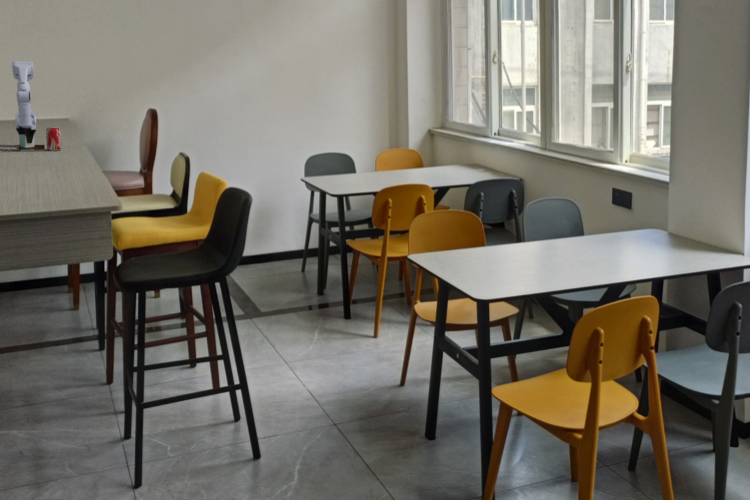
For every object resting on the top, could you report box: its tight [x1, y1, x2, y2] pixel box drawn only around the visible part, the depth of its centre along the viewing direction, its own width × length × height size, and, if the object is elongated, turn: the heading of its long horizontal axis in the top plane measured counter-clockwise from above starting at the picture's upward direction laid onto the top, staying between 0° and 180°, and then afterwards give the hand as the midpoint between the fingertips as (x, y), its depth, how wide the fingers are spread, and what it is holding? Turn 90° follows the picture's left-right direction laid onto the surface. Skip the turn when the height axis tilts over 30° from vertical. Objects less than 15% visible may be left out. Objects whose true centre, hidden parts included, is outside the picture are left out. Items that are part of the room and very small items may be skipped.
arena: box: [15, 144, 46, 152], centre depth 389 cm, size 8×13×2 cm, turn 113°
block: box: [18, 134, 35, 148], centre depth 387 cm, size 5×5×6 cm
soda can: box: [45, 125, 63, 152], centre depth 392 cm, size 7×7×12 cm
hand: (26, 142), depth 387 cm, fingers closed on block, 5 cm apart
